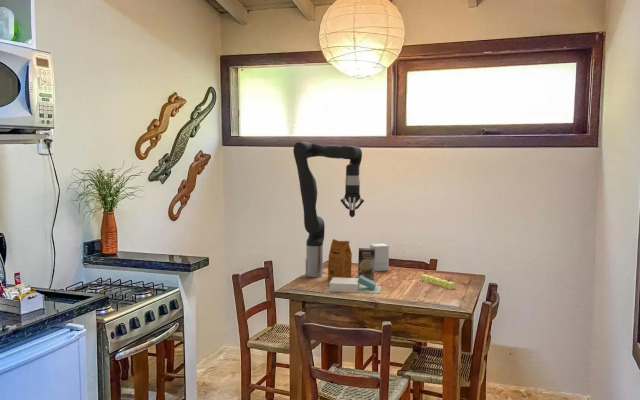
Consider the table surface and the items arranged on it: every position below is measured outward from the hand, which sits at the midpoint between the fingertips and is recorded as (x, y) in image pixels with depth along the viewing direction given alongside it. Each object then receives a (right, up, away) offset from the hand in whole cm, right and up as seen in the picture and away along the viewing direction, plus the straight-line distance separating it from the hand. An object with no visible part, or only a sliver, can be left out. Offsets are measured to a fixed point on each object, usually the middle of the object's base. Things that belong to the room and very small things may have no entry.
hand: (352, 216), depth 276 cm
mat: (+8, -36, -13) cm, 39 cm away
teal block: (+6, -34, -12) cm, 36 cm away
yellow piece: (+46, -36, +2) cm, 59 cm away
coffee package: (-6, -35, +8) cm, 36 cm away
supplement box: (+18, -33, +35) cm, 51 cm away
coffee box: (+9, -34, +14) cm, 38 cm away
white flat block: (-4, -36, -11) cm, 38 cm away
